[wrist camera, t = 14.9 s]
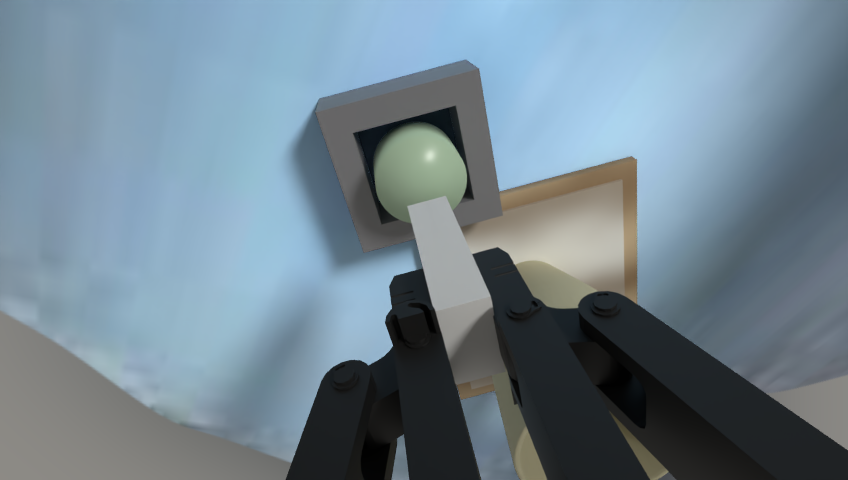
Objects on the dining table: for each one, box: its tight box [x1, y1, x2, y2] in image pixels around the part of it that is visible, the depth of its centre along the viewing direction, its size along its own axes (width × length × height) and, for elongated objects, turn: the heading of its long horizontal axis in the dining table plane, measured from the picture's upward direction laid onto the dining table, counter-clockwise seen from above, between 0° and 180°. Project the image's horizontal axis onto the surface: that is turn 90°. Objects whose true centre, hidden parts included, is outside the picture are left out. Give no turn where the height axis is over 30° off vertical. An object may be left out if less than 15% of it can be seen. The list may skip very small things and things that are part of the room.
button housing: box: [315, 60, 503, 253], centre depth 26 cm, size 8×8×3 cm
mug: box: [492, 261, 669, 480], centre depth 27 cm, size 11×10×12 cm
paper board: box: [457, 156, 637, 400], centre depth 32 cm, size 16×14×1 cm
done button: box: [373, 121, 467, 223], centre depth 24 cm, size 4×4×3 cm
